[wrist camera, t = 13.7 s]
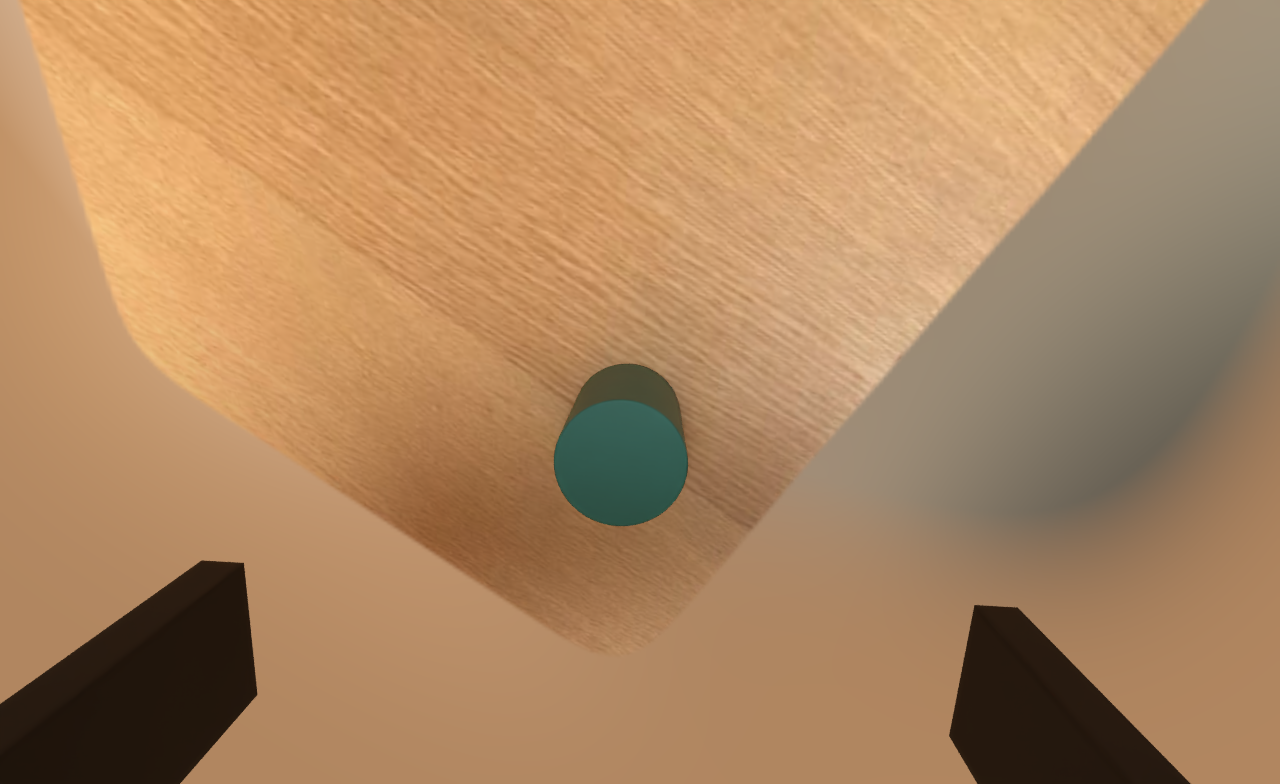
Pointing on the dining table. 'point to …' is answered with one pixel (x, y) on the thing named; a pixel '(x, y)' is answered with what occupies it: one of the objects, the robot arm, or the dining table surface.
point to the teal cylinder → (622, 447)
